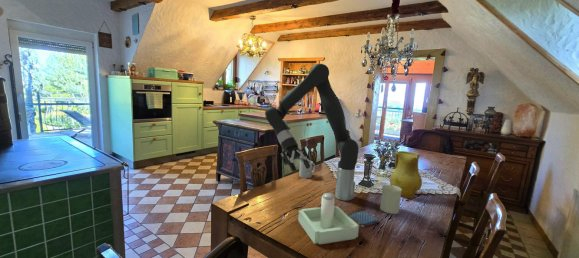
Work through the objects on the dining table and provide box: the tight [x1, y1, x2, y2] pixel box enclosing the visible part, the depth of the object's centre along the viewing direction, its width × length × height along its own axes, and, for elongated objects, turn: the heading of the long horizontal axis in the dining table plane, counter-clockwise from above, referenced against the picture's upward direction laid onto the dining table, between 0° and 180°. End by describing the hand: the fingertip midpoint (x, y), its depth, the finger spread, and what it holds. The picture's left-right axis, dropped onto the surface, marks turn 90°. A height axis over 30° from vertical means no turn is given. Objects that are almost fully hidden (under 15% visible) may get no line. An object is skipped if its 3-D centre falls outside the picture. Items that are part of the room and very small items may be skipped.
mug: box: [298, 159, 316, 179], centre depth 174 cm, size 12×9×10 cm
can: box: [379, 184, 402, 215], centre depth 129 cm, size 9×9×12 cm
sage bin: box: [298, 205, 360, 245], centre depth 109 cm, size 19×19×5 cm
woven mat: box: [347, 210, 380, 228], centre depth 118 cm, size 10×11×2 cm
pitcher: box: [389, 150, 423, 199], centre depth 151 cm, size 17×19×25 cm
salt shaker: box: [320, 192, 336, 229], centre depth 108 cm, size 5×5×14 cm
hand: (301, 169), depth 119 cm, fingers open, 8 cm apart
